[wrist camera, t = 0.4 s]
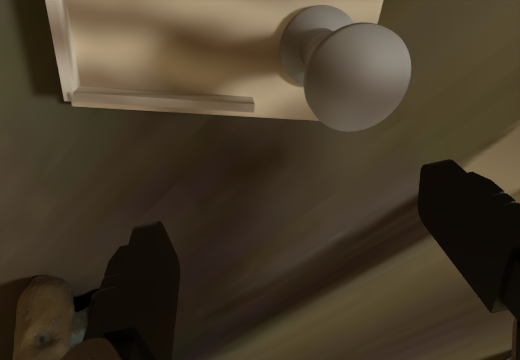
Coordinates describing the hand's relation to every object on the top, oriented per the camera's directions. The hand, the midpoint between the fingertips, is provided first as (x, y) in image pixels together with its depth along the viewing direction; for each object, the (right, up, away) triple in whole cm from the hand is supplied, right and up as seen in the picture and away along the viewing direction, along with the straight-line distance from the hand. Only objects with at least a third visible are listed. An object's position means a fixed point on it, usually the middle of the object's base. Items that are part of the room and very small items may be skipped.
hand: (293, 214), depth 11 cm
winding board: (-4, +14, +21) cm, 26 cm away
